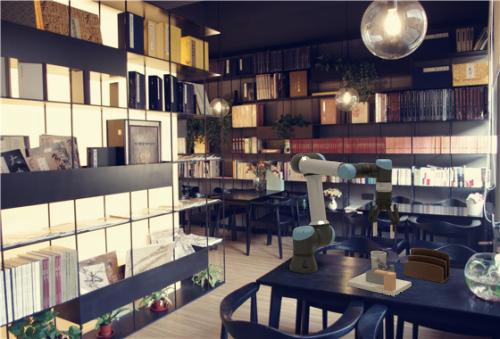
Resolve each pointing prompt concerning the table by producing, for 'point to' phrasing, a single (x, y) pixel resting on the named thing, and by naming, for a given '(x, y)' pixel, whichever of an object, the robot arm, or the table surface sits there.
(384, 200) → the robot arm
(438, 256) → the letter holder
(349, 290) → the table surface
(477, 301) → the table surface
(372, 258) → the translucent flat bar
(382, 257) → the cup
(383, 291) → the board
